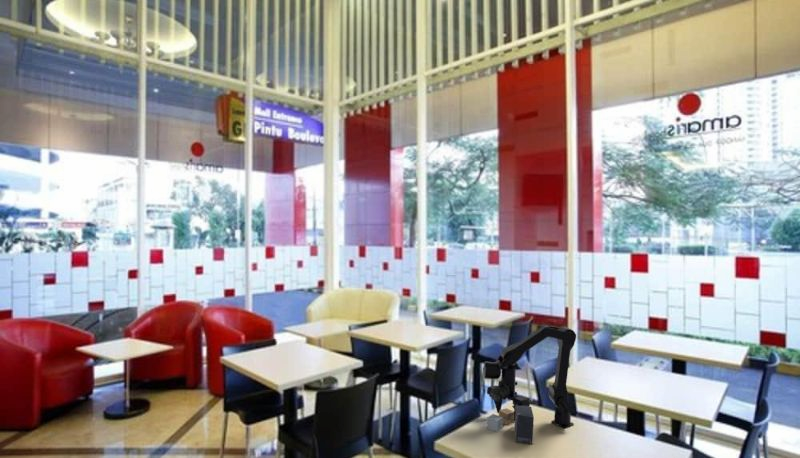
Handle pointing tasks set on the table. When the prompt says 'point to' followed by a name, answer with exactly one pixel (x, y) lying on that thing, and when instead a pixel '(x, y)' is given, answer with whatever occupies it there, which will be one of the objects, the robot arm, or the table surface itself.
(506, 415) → the walnut cube
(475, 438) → the table surface
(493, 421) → the slate block
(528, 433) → the small box
